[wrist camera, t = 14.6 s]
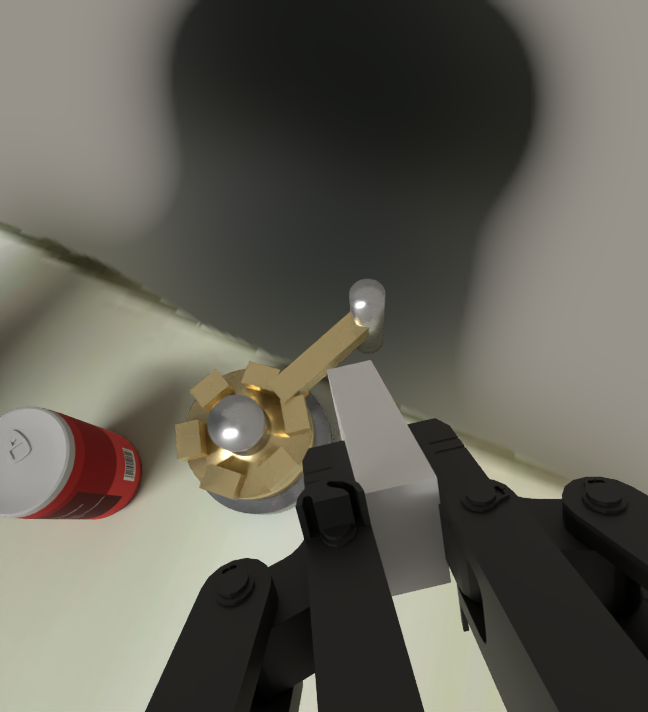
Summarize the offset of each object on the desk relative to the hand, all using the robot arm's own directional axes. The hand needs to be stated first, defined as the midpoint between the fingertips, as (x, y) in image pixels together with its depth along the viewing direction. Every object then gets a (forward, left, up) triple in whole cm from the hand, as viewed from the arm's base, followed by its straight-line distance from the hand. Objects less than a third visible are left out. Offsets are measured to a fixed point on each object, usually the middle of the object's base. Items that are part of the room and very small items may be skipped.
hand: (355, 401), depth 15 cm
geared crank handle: (-8, +2, -23) cm, 24 cm away
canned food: (-21, -12, -26) cm, 36 cm away
